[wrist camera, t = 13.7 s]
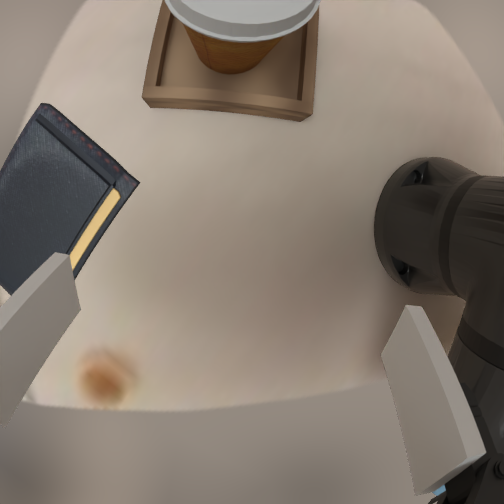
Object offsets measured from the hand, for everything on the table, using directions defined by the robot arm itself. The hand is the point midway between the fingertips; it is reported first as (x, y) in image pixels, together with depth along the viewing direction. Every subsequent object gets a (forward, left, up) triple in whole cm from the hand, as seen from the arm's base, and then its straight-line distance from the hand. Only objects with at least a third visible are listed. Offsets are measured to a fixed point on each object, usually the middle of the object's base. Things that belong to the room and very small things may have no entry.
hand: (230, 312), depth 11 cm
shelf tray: (+1, -18, -18) cm, 25 cm away
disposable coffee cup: (+1, -17, -16) cm, 24 cm away
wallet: (+19, 0, -19) cm, 27 cm away
